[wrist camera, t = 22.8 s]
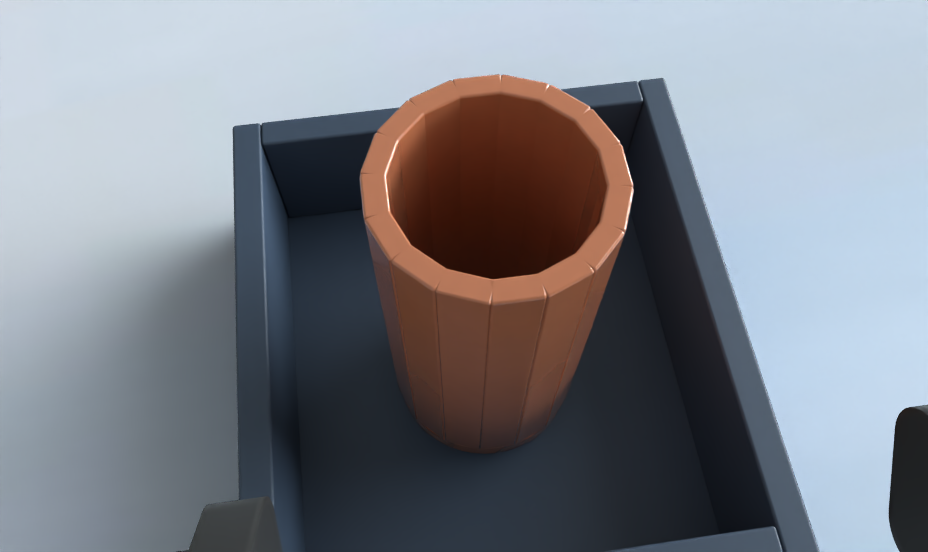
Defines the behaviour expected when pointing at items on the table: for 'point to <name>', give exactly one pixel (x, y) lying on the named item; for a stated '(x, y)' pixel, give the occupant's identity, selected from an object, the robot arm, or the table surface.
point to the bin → (582, 413)
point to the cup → (492, 251)
